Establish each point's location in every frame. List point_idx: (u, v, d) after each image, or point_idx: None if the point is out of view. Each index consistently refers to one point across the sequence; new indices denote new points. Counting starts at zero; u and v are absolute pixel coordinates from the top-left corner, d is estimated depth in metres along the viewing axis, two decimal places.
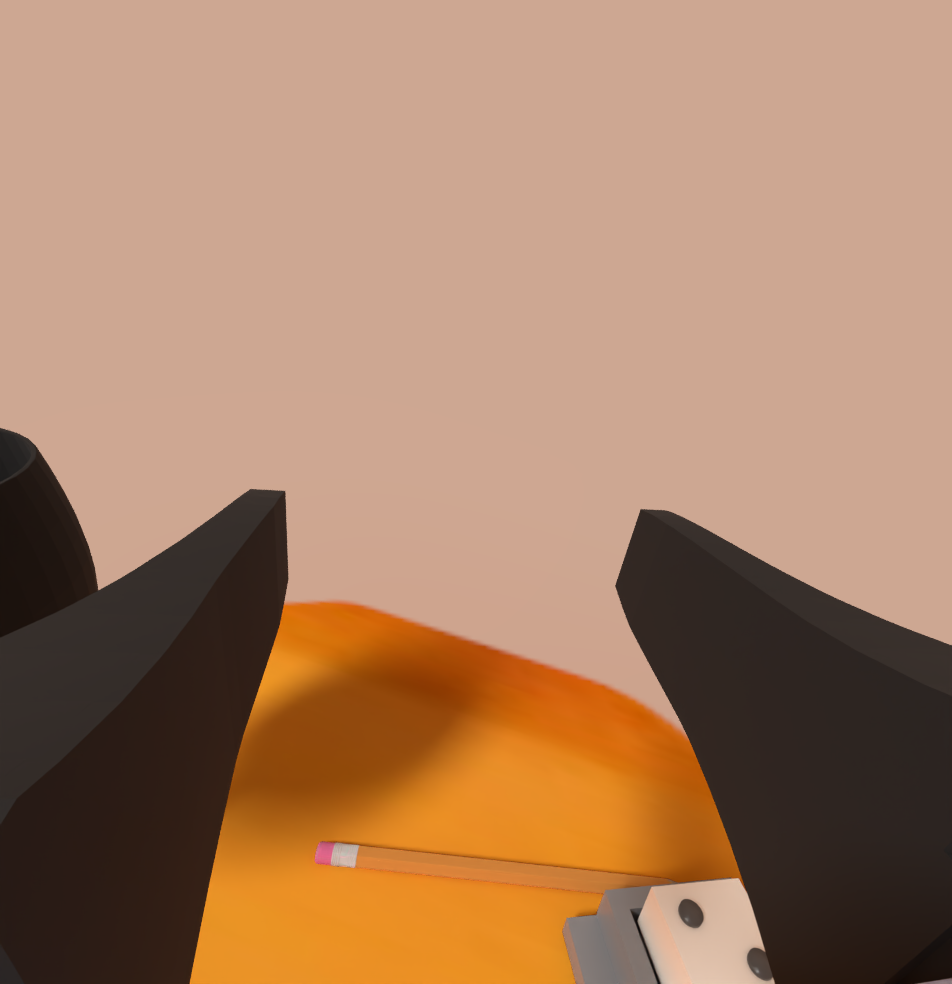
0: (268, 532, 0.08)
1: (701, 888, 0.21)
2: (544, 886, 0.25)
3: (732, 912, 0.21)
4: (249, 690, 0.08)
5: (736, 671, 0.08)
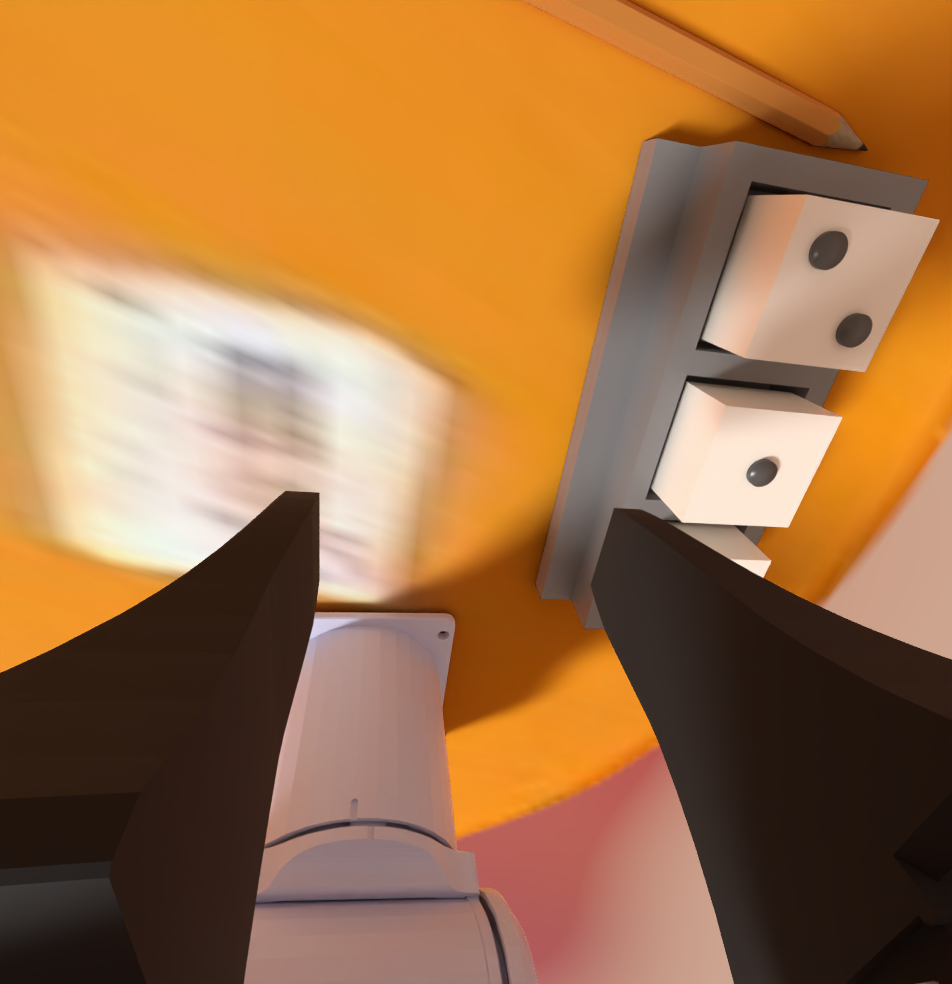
0: (307, 534, 0.08)
1: (875, 219, 0.13)
2: (651, 62, 0.15)
3: (882, 263, 0.14)
4: (290, 689, 0.08)
5: (702, 671, 0.08)
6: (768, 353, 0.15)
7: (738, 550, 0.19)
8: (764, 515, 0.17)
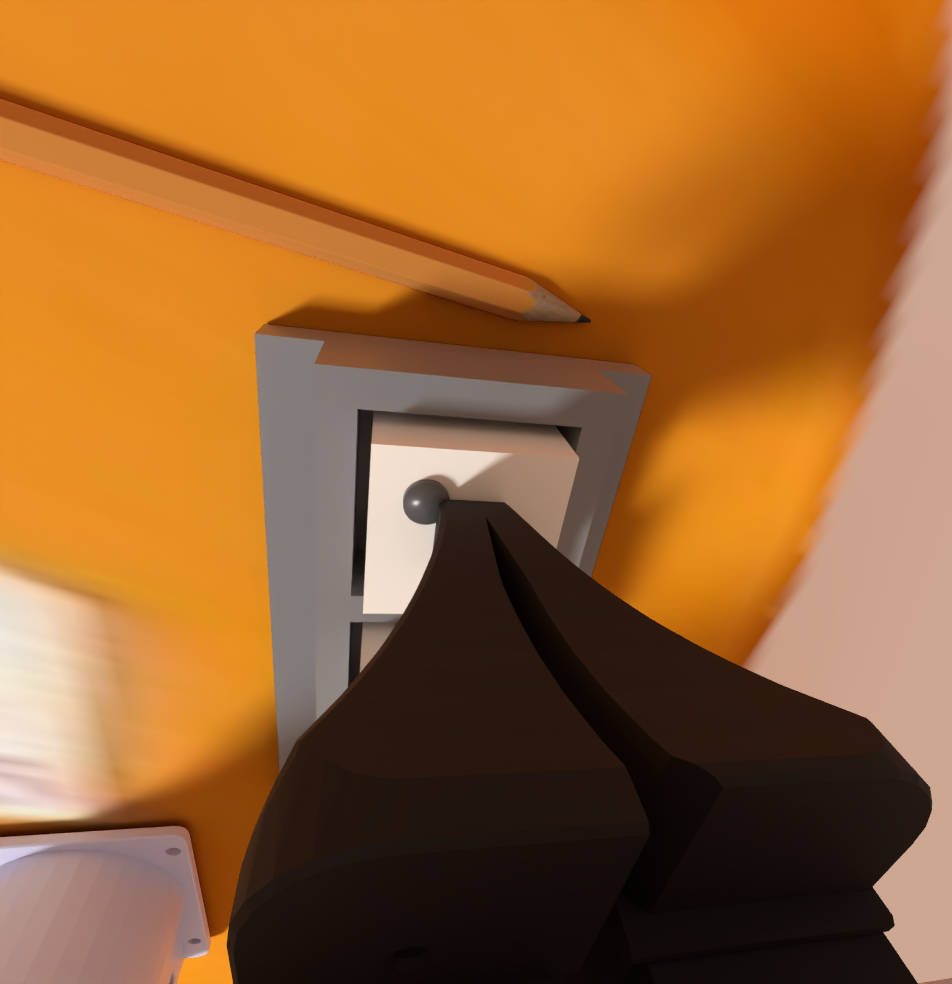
0: None
1: (484, 463, 0.10)
2: (241, 232, 0.11)
3: (515, 507, 0.11)
4: None
5: None
6: (394, 607, 0.11)
7: None
8: None
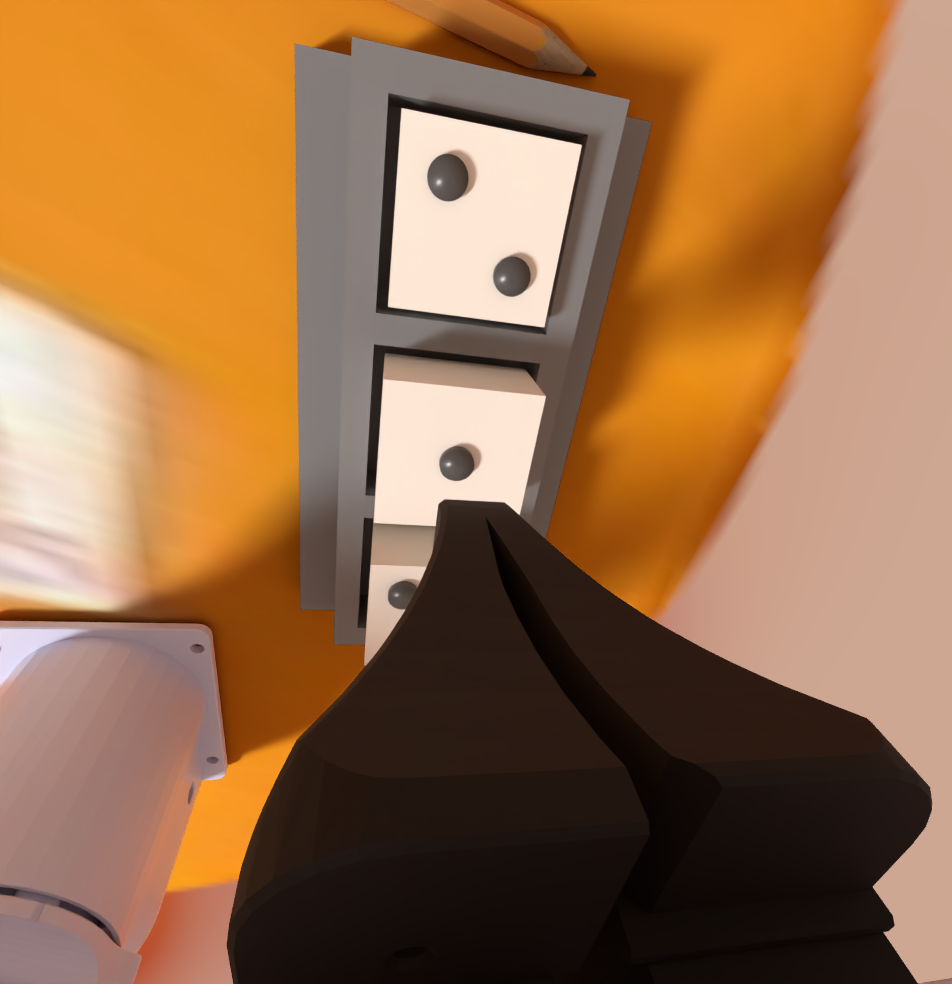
0: None
1: (499, 141, 0.11)
2: None
3: (525, 196, 0.12)
4: None
5: None
6: (416, 302, 0.13)
7: None
8: None
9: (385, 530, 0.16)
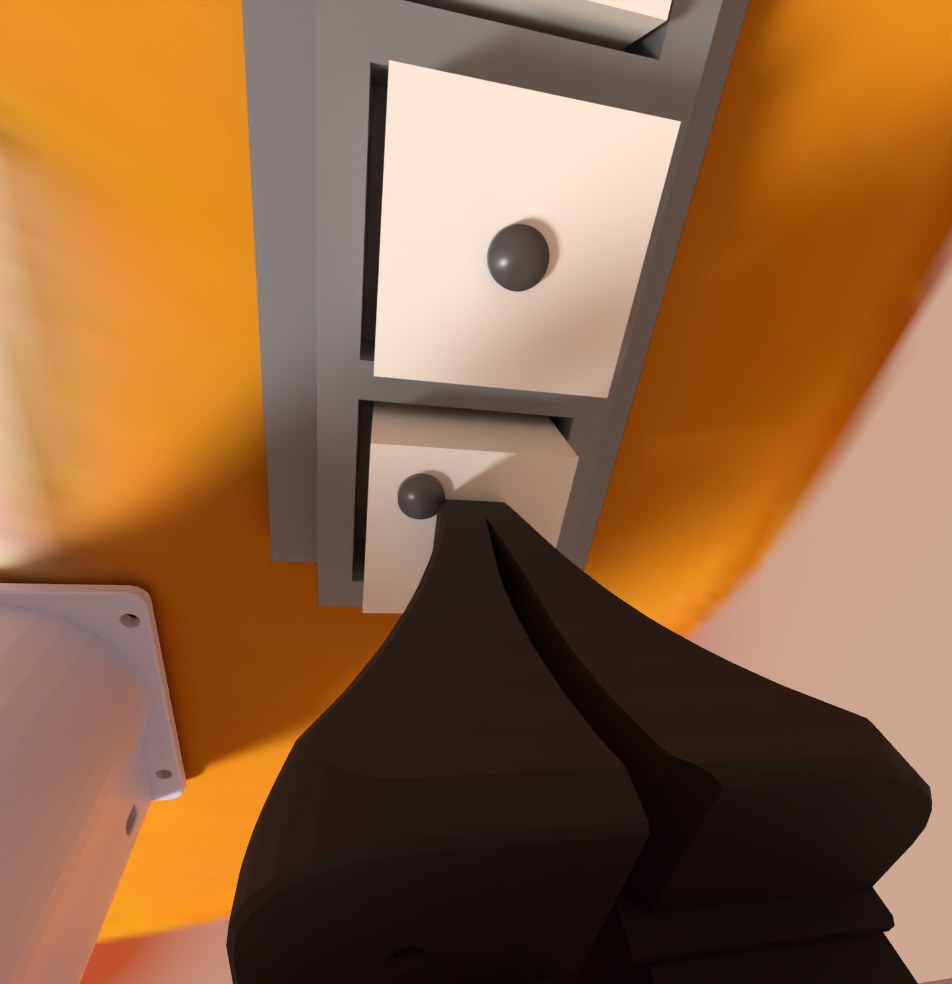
0: None
1: None
2: None
3: None
4: None
5: None
6: None
7: (525, 442, 0.11)
8: (551, 368, 0.09)
9: (391, 410, 0.11)
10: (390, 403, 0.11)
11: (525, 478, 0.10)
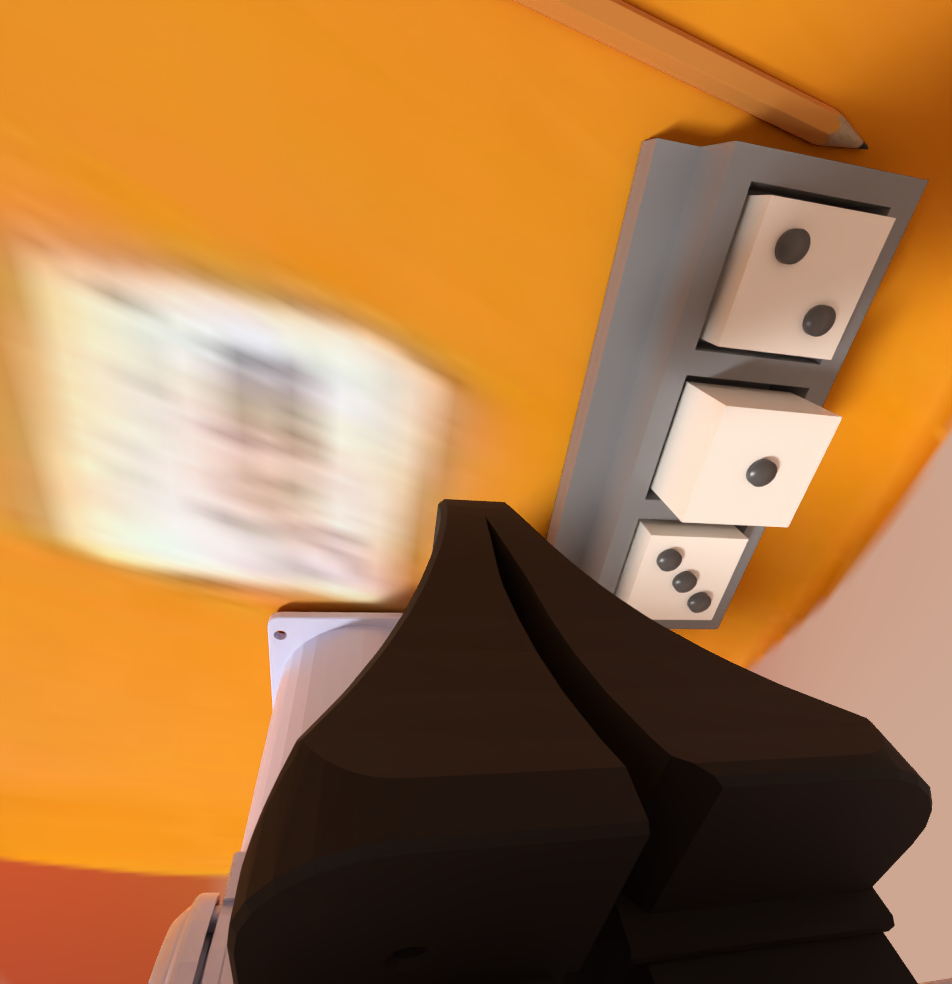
0: None
1: (836, 217, 0.14)
2: (650, 64, 0.15)
3: (843, 258, 0.15)
4: None
5: None
6: (740, 342, 0.16)
7: (717, 529, 0.20)
8: (764, 515, 0.17)
9: None
10: None
11: (720, 550, 0.20)
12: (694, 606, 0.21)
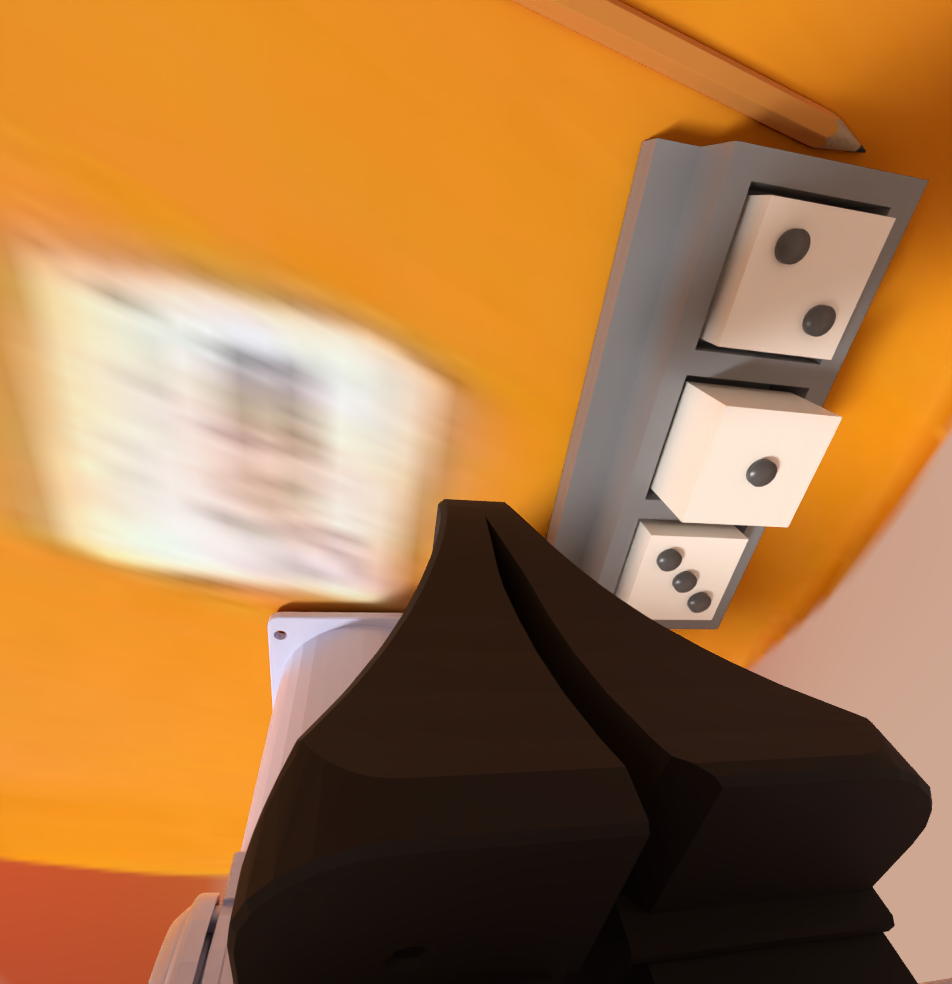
0: None
1: (836, 217, 0.14)
2: (649, 65, 0.15)
3: (843, 258, 0.15)
4: None
5: None
6: (740, 342, 0.16)
7: (717, 529, 0.20)
8: (764, 515, 0.17)
9: None
10: None
11: (720, 550, 0.20)
12: (694, 606, 0.21)
